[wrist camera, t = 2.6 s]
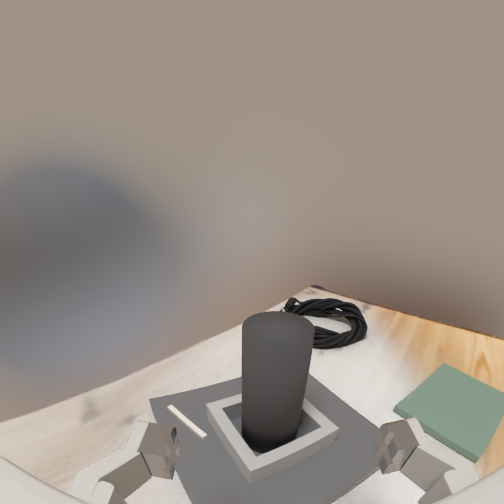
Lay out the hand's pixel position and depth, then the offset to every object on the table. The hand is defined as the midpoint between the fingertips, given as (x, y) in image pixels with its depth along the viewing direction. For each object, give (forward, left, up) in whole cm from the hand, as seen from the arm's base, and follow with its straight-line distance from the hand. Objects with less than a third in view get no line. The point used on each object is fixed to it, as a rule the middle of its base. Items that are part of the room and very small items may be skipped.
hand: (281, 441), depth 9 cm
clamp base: (+10, -7, -16) cm, 20 cm away
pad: (-2, -29, -16) cm, 33 cm away
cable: (+27, -28, -17) cm, 42 cm away
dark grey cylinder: (+10, -7, -14) cm, 19 cm away
